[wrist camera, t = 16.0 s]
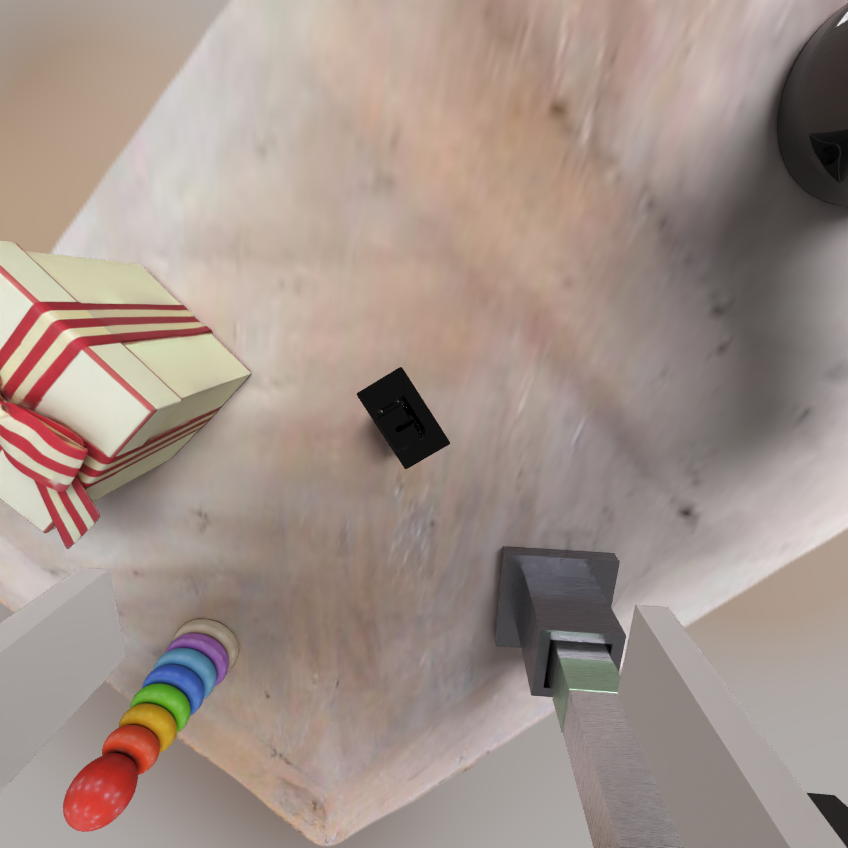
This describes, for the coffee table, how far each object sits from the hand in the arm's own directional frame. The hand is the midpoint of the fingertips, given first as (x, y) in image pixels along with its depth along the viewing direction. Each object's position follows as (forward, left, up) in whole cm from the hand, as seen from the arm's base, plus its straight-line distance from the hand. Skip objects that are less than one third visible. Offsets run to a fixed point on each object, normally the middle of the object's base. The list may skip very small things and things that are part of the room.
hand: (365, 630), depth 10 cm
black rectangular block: (+2, +3, -32) cm, 33 cm away
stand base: (-15, +23, -32) cm, 42 cm away
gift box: (+28, 0, -32) cm, 43 cm away
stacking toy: (+26, +33, -32) cm, 53 cm away
